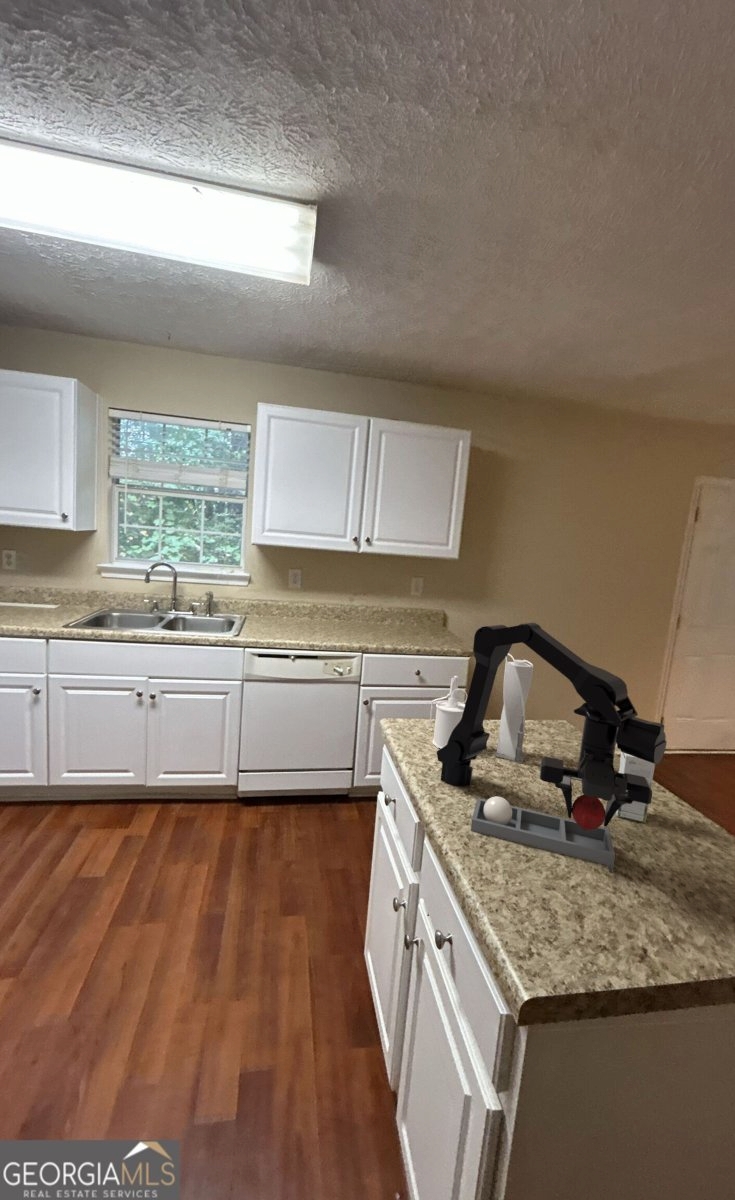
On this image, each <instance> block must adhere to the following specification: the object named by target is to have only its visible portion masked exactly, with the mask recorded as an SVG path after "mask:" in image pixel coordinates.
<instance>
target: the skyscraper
mask: <svg viewBox="0 0 735 1200" xmlns="http://www.w3.org/2000/svg"><path fill="white" fill-rule="evenodd" d="M508 657H511V659H512V660H513V661H508ZM503 673H504V674H503V675H504V676H503V687H502V689H503V692H502V693H503V694H502V696H503V698H502V699H503V706H502V711H501V715H500V721H499V729H498V735H497V747H496V753H495V754H494V757H495V756H497V757H496V758H498V757H500V758H499V759H502V758H504V759H503V760H505V759H506V760H505V761H508V760H509V762H512V763H516V764H518V765H521V764H522V762H523V761H524V760H525V759H526V757H527V756H528V753H526V752H523V750H524V748H523V746H524V745H523V744H524V735H525V730H526V728H525V727H526V706H525V705H526V702H527V699H528V697H529V693H530V689H531V686H532V678H533V673H534V664H533V663H532V662H530V661H529V660H526V659H523V660H522V659H515V658H514V656H513V655H512V654H511V653H509V652H508V655H507V656H506V657H505V665H504V672H503Z"/></svg>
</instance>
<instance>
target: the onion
mask: <svg viewBox="0 0 735 1200" xmlns="http://www.w3.org/2000/svg"><path fill="white" fill-rule="evenodd" d="M605 810H606V808H605V806H604V805H603V803H602V801H601V800H600V798H596V797H588V796H585V795H584V794H581V795H580V796H578V797H576V799H575V800H574V801H573V802H572V814H571V816H572V817H573V820H574V821H576V823H577V824H578V825H579V826H580V827H581V828H582V829H583V830H585V831H589V830H594V829H596V828H598V827H602V825H604V820H605Z"/></svg>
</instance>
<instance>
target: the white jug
mask: <svg viewBox="0 0 735 1200" xmlns="http://www.w3.org/2000/svg"><path fill="white" fill-rule="evenodd" d="M459 680H460V678H459V676H458V675H454V676H453V677H452V678H451V679H450V685H449V686H450V687H449V688H450V689H449V693H447V695H446V696H443V697H442V696H441V697H438V698H434V699H432V701H431V707H430V715H429V728H431V725H432V716H433V705H434V702H435V703H436V704H435V707H436V711H435V723H434V731H433V739H432V745H433V744H434V745H435V746H436V747H435V746H434V745H433V746H434V747H435V748H437V749H439V748H440V749H441V748H443V747H444V746H446V745H447V742H448V739H449V737H450V735H451V733H452V731H453V729H454V728H455V727H456V726H457V724H458V723H459V722H460V720H461V718H462V715H463V711H464V707H465V703H466V699H467V695H468V692H467V691H465V690H464V689H462V688H459ZM459 691H463V692H464V693H465V695H466V698H465V701H463V702H460V701H459V699H460V698H459V697H458V692H459ZM445 699H446V700H445ZM440 749H439V750H440Z"/></svg>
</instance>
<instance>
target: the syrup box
mask: <svg viewBox="0 0 735 1200" xmlns="http://www.w3.org/2000/svg"><path fill="white" fill-rule="evenodd" d="M620 752H621V751H620ZM655 768H656V764H654V763H651V762H648V761H645V760H643V759H640V758H637V757H634V756H631V755H629V754H626V753H623V752H621V753H620V759H619V766H618V771H617V772H618V773H623V774H624V773H628V774H633V775H638V776H643V777H645V778H646V779H647V781H648V783H649V785H650V787H651V788H652V784H653V778H654V773H655ZM648 809H649V804H645V803H640V802H636V801H633V802H632V804H628V803H626V804H624V805H622V806H621V807H620V808H619V809H618V810H617V811H616V813H615V814H616V817H617V818H623V819H626V820H630V821H635V822H639V823H646V821H647V816H648Z"/></svg>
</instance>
